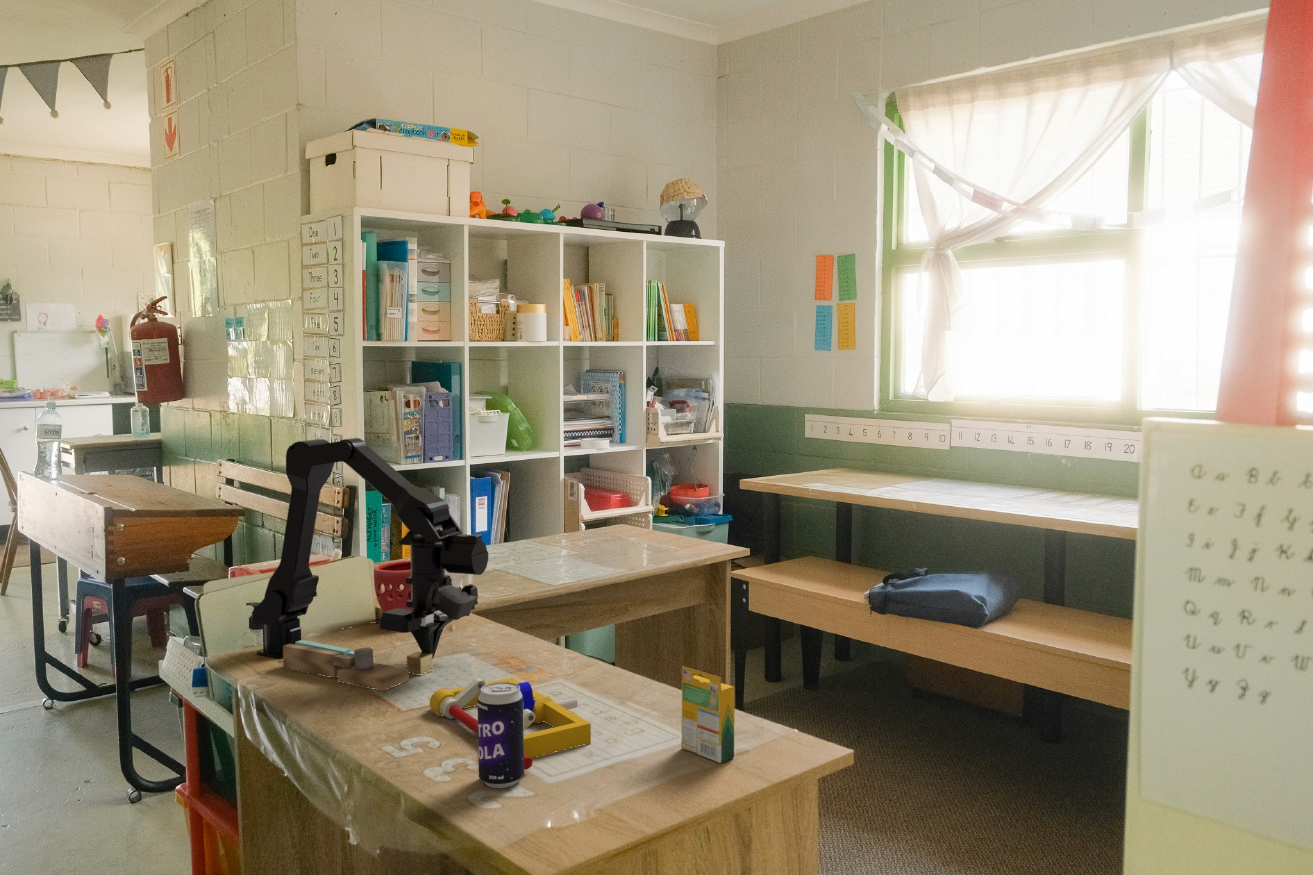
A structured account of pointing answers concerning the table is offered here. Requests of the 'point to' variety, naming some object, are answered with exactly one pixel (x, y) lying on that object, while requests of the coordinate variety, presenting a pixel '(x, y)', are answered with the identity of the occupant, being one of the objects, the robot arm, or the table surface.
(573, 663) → the table surface
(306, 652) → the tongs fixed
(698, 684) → the crayon box
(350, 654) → the bar
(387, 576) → the plant pot
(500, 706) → the beverage can
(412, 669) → the block
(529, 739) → the mechanical clamp
